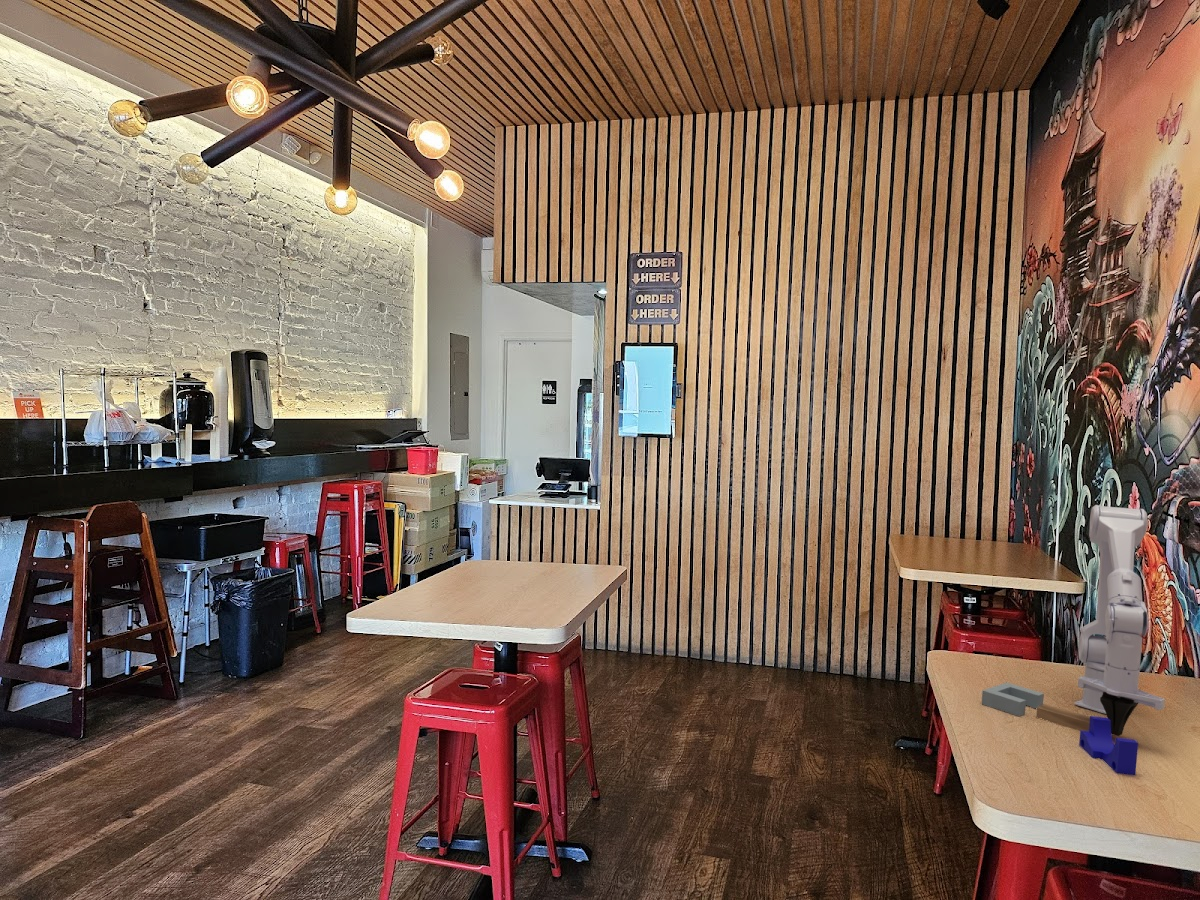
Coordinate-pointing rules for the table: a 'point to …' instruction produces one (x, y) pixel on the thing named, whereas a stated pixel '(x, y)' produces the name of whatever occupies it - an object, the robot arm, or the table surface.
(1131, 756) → the cable clip
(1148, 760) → the table surface
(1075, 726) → the slat
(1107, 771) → the table surface
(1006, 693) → the end cap
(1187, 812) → the table surface
